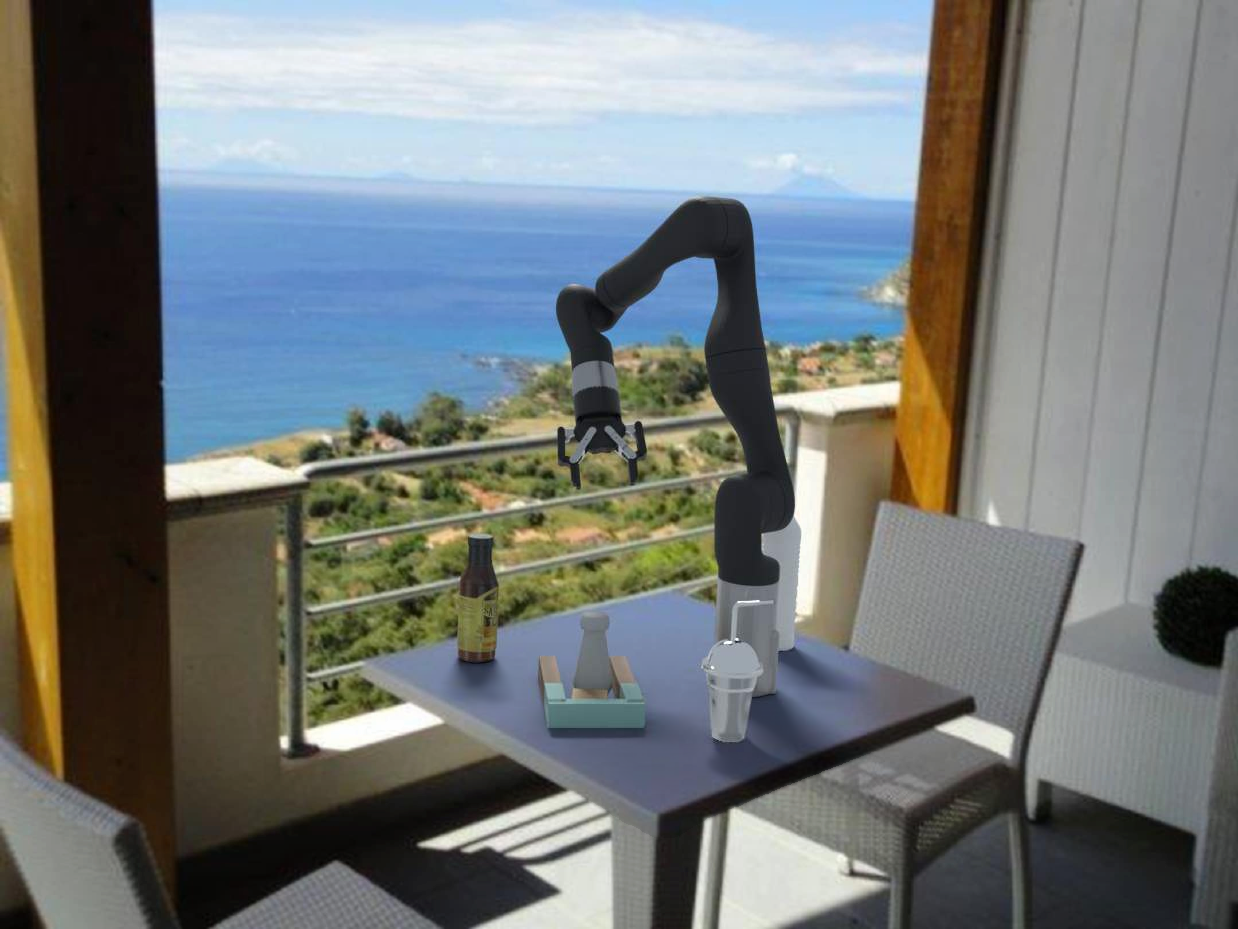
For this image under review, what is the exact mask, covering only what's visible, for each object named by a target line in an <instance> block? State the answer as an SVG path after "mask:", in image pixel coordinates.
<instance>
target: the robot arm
mask: <svg viewBox="0 0 1238 929" xmlns="http://www.w3.org/2000/svg"><path fill="white" fill-rule="evenodd" d="M753 230H754V228H753V222H752V218H751V216H750V213H749V210H748V208H747V207H746V206H745V204H744V203H743V202H741V201H740V200H738V199H735V198H730V197H720V196H710V195H709V196H708V195H697V196H693V197H690V198H688V199H687V200H685V201H683V203H681V204H680V205H679V206H678V207H676V208H675V209H674V210H673V212H672V213H670V215H669V216H668V217H667V218H666V219H665V220H663V222H662V223H661V224H660V225H659V226H658V227H657V228H656V229H655V230H654V231H653V233H652V234H650V235H649V237H647V238H646V239H645V240H644V241H643V242H642V243H641V244H640V246H638V247H637V248H636V249H634V250H633V251H632V252H630V254H628V255H626V256H625V257H624V258H622V259H621V260H619V261H618V262H616V263H614V265H612V266H610V267H609V268H608V269H606V270H604V271H603V272H602V273H601V274H600V275H599V276H598V277H597V279H596V282H595V288H591V287H588V286H586V285H582V284H578V283H570V284H567V285H565V286H564V287H563V288H562V289H561V291H560V292H559V293H558V295H557V298H556V303H555V315H556V319H557V322H558V325H559V327H560V330H561V333H562V336H563V337H564V340H565V343H566V345H567V348H568V349H569V350H568V351H569V352H570V363H571V372H572V373H571V374H572V376H571V389H572V390H571V392H572V400H573V401H572V402H573V409H574V422H575V425H574V428H565V427H564V426H558V427H557V429H556V431H557V432H556V434H557V435H556V437H557V438H556V439H557V443H556V444H557V445H556V446H557V465H558V466H559V467H562V468H563V467H567V468H569V472H570V481H571V482H570V483H571V486H572V487H575V490H576V491H579V490H582V486H581V485H582V483H581V472H580V471H581V470H580V463H581V462H582V460H584V458H586V456H587V455H588V453H589V454H591V455H598V454H601V453H603V454H611V453H612V452H615V453H616V454H617V455H618V456H619V457H620V458H623V459H624V461H626V462H627V464H626V466H627V474H628V480H629V482H628V483H629V486H630V487H631V486H635V483H637V482H638V480H639V471H638V470H639V468H638V462H641V461H642V462H643V461H645V460H646V459H647V456H648V455H647V454H648V447H647V442H646V438H645V432H644V428H643V423H642V421H640V420H637V421H635V422H634V423H633V424H625V423H624V422H623V420H622V419H623V418H622V410H621V409H622V408H621V400H620V393H619V392H620V386H619V384H618V379H617V378H618V377H617V374H616V370H615V361H614V360H615V359H614V354H613V346H612V342H611V341H610V339H609V337H607V336H606V335H604V334H602V333H605V332H608V331H610V330H612V329H613V328H614V327H615V326H616V325H617V323H618V322H619V320H620V319H621V317H622V316H623V315H624V314H625V312H626V311H627V310H628V308H629V307H631V306H632V305H634V304H635V303H637V302H639V301H641V300H642V299H644V298H645V297H648V295H650V293H652V292H653V291H655V289H656V288H657V287H658V286H659V284H660V282H661V280H662V278H663V276H664V274H665V272H666V270H667V269H669V268H671V267H672V266H674V265H676V264H678V263H680V262H683V261H685V260H686V261H687V259H692V258H697V259H709V260H712V259H713V261H714V262H713V263H714V266H715V271H716V272H715V273H716V279H717V280H716V281H717V301H716V305H715V308H714V311H713V314H712V317H711V319H710V323H709V326H708V329H707V331H706V332H707V333H706V336H705V339H704V348H703V349H704V360H705V361H704V362H705V364H706V372H707V373H706V374H707V379H708V384H709V389H710V392H711V395H712V397H713V399H714V400H715V402H716V405H717V406H718V408H719V409H720V410H721V412H722V414H723V415H724V417H725V418H726V419H727V421H728V422H729V424H730V425H731V426H732V428H733V430H734V431H735V433H736V435H737V437H738V439H739V442H740V443H741V447H742V450H743V453H744V460H745V465H746V466H745V467H746V473H740V474H733V475H731V476H728V477H726V478H725V479H723V481H722V482H721V483H720V485H719V487H718V489H717V492H716V495H715V501H714V517H713V518H714V521H713V522H714V528H713V529H714V530H713V531H714V535H713V536H714V537H713V539H714V540H713V545H714V546H713V547H714V548H713V550H714V556H715V557H714V558H715V561H716V564H717V569H718V570H717V573H718V574H717V586H716V587H717V588H716V604H715V606H716V607H715V621H714V623H715V624H714V637H713V646H714V645H715V644H716V643H718V642H720V641H722V640H724V639H728V638H731V625H732V609H733V606H734V605H735V604H736V603H737V602H743V601H758V600H773V599H774V602H775V605H761V606H746V607H739V608H738V611H737V627H736V639H740V640H743V641H745V642H746V643H748V644H749V645H750V646H751V647H752V648H753V649H754V651H755V653H756V655H757V658H758V660H759V661H760V662H761V663H762V665H763V670H764V671H763V673H762V674H761V675H760V676H757V682H756V684H755V688H754V690H753V694H752V698H757V697H763V696H766V695H772V694H773V695H775V694H776V692H777V691H776V690H777V678H778V677H777V675H778V662H779V651H778V649H779V632H778V631H777V630H776V621H777V606H778V591H779V577H780V565H779V563H778V561H777V560H776V559H774V558H772V557H769V556H766V555H764V554H763V553H762V534H763V533H769V532H775V531H779V530H782V529H784V528H786V527H787V526H788V525H789V524H790V522H791V520H792V518H793V515H795V510H796V496H795V489H794V485H793V481H792V477H791V474H790V470H789V466H788V461H787V458H786V454H785V451H784V447H783V442H782V440H781V439H782V438H781V434H780V430H779V424H778V417H777V412H776V408H775V403H774V402H775V401H774V396H773V392H772V384H771V376H770V375H771V373H770V368H769V361H768V360H769V359H768V354H767V348H766V344H765V337H764V334H763V332H764V331H763V326H762V320H761V319H762V317H761V312H760V311H761V310H760V305H759V296H758V295H759V294H758V288H757V278H756V277H757V276H756V275H757V274H756V259H755V258H756V256H755V240H754V231H753ZM626 434H629V435H630V438H632V439H635V444H636V449H637V450H636V451H634V450H633V449H632V448H631V447H630V446H629V445H628V443H627V441H625V440H624V439H623V438H624V437H625V436H626ZM571 438H574V440H576V442H578V444H577V446H576V448H575V450H574V452H573V453H572V455H570V456H569V455H566V444H568V443H569V442H570V440H571Z"/></svg>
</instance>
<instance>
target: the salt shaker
mask: <svg viewBox="0 0 1238 929" xmlns="http://www.w3.org/2000/svg"><path fill="white" fill-rule="evenodd" d="M610 622H611V621H610V616H609V615H608V614H607V613H606V612H603V611H599V610H589V611H585V612H583V613H582V614H581V615H580V618H579V625H580V629H582V630H584V631H583V634H582V635H583V636H582V640H581V645H580V648H579V652H578V653H579V654H578V657H577V661H576V666H575V670H574V674H573V677H572V678H573V679H572V685H573V688H576V689H597V690H608V692H607V697H608V696H609V694H610V692H611V690H612V689H613V687H612V684H613V683H612V676H611V669H610V662H609V656H610V655H609V651H608V650H609V649H608V642H607V635H606V631H607V630H609V629H610V628H609V627H610Z"/></svg>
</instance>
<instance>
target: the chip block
mask: <svg viewBox="0 0 1238 929" xmlns="http://www.w3.org/2000/svg"><path fill="white" fill-rule="evenodd" d="M607 692H608V690H597V689H576V688H574V687H573V688H572V693H571V699H608V696H607Z"/></svg>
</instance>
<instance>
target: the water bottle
mask: <svg viewBox="0 0 1238 929" xmlns="http://www.w3.org/2000/svg"><path fill="white" fill-rule="evenodd" d="M794 515H795V514H794ZM794 515H793V518H792V520H791V522H790V524H789V525H788V526H787V527H786V528H784V529H782V530H779V531H775V532H769V533H763V534H761V548H762V553H763V554H764V555H766V556H769V557H772V558H774V559H776V560H777V561H778V563H779V565H780V577H779V591H778V606H777V621H776V630H777V631H778V632H779V649H778V652H780V651H781V652H787V651H790V650H792V649H793V648H794V645H795V631H796V618H797V617H796V615H797V613H796V610H797V604H798V603H797V598H798V587H799V567H800V565H799V564H800V557H801V556H800V554H801V551H800V550H801V542H802V541H801V540H802V529H801V526H800V524H799V523H798V520H797V519H796V517H795V516H794Z"/></svg>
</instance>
